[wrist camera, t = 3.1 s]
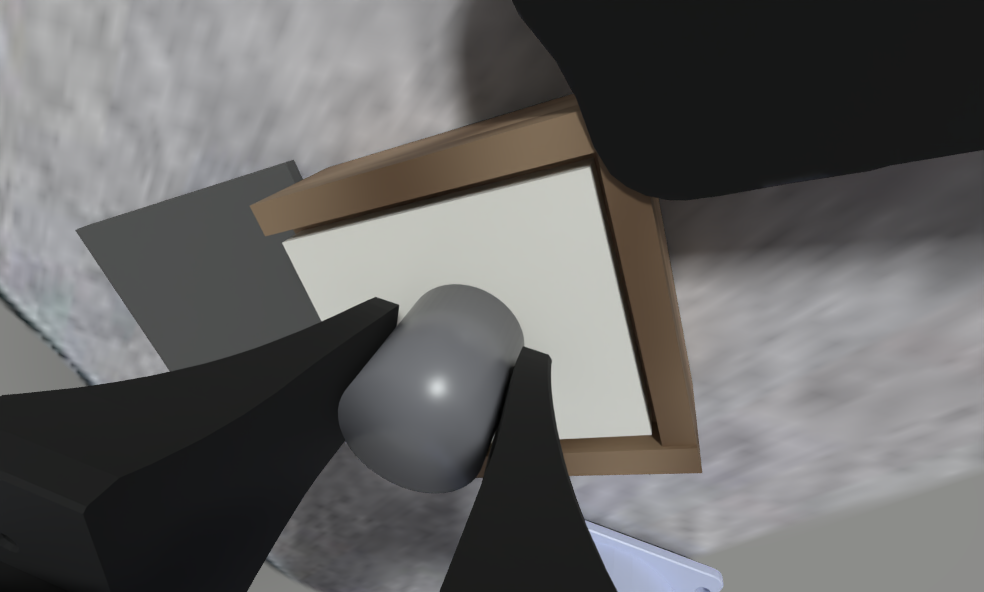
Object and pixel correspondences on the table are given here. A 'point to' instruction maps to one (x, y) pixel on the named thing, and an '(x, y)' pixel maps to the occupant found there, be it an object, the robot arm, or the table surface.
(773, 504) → the table surface
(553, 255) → the cover plate
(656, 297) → the walnut case
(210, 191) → the rubber mat
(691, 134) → the black sponge
